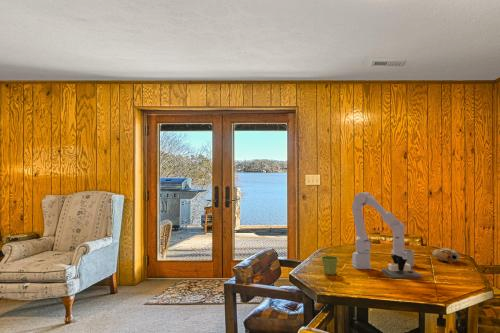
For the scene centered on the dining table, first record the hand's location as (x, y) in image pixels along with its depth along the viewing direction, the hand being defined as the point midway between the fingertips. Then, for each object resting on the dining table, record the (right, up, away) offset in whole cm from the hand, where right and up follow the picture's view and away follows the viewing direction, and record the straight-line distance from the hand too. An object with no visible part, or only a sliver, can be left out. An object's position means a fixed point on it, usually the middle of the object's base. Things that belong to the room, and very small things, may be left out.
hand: (399, 269), depth 187 cm
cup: (+11, -3, +18) cm, 21 cm away
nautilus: (+40, -3, +24) cm, 46 cm away
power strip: (0, -2, 0) cm, 2 cm away
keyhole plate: (0, -2, -2) cm, 3 cm away
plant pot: (-38, -3, +1) cm, 38 cm away
